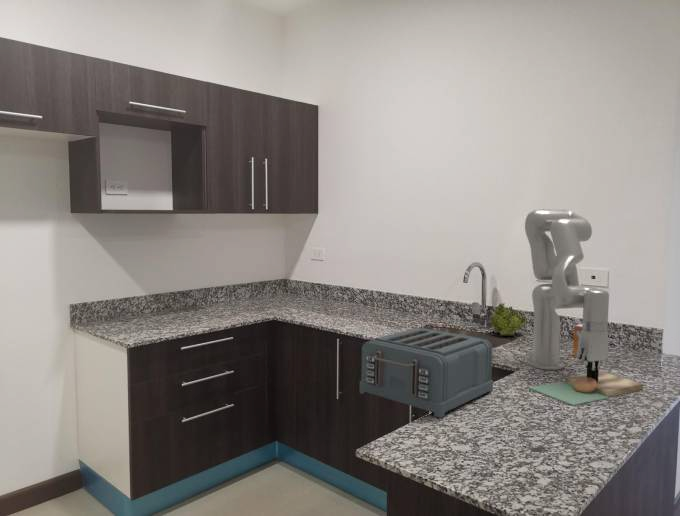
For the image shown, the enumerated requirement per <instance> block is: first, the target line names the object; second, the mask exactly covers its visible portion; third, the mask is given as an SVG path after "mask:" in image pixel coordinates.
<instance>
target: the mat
mask: <svg viewBox="0 0 680 516" xmlns="http://www.w3.org/2000/svg"><path fill="white" fill-rule="evenodd" d="M528 390H531V391H534V392H535V393H536V392H537V393H539V394H542V395H544V396H547V397H549V398H551V399H554V400H557V401H560V402H562V403H564V404H565V403H566V404H568V405H570V406H572V407H575V406H580V405H583V404H589V403H593V402H598V401H604V400H608V399H610V397H607V396H604V395H601V394H598V393H595V392H587V393H581V392H578V391H576V390H575V389H574V385H572V384H569V383H566V382H565V381H558V382H557V381H556V382H552V383H546V384H541V385H534V386H529V387H528Z"/></svg>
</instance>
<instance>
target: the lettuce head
mask: <svg viewBox="0 0 680 516" xmlns="http://www.w3.org/2000/svg"><path fill="white" fill-rule="evenodd" d="M493 312H494V313H492V319H491V320H490V325H491V326H492V327H493V328H494V331H495V332H498V333H499V335H500V336H501V337H504V336H505V337H507V336H508V337H514V335H515V333H516V331H517V330H518V329H522V328H523V327H524V326H525V324H526V323H527V318H526V317H525V318H523V316H524V315H523V314H521V313H520V312H519V310H518V309H517V310H513V306H505V302H504V303H503V302H501V303H498V305H497V306H496V310H493Z"/></svg>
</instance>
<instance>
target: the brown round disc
mask: <svg viewBox="0 0 680 516" xmlns="http://www.w3.org/2000/svg"><path fill="white" fill-rule="evenodd" d="M573 385H574V389H575V390H576V391H578V392H581V393H587V392H592V391H594V390H595V389H596V388H597V383H596V380H595V379H593V378H590V377H583V378H579V379H576V380H575V381H574V382H573Z"/></svg>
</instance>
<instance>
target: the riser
mask: <svg viewBox="0 0 680 516" xmlns="http://www.w3.org/2000/svg"><path fill="white" fill-rule="evenodd" d="M583 377H587V373H585V374H579V375H572V376H568V377H567V376H566V377H565V378H564V380H565V381H564V382H566V383H569V384H572V385H573V382H574V381H575V380H576V379H579V378H583ZM596 383H597V388H596V389H595V390H594V391H592V392H595V393H598V394H601V395H604V396H607V397H609V398H611V397H614V396H615V397H616V396H619V395H625V394H630V393H636V392H639V391H643V390H644V383H640V382H638V381H635V380H631V379H628V378H625V377H621V376H619V375H615V374H612V373H609V372H605V371H602V370H601V371H599V373H598V382H596Z"/></svg>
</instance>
